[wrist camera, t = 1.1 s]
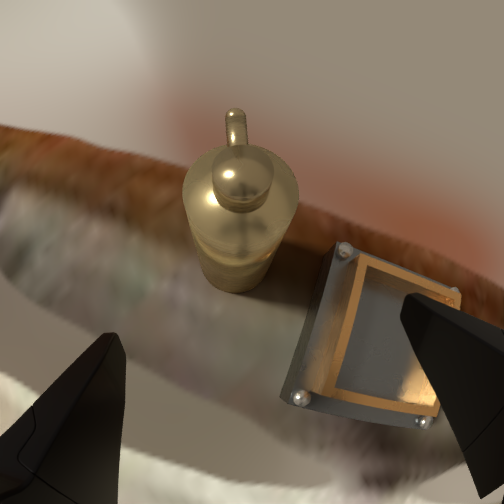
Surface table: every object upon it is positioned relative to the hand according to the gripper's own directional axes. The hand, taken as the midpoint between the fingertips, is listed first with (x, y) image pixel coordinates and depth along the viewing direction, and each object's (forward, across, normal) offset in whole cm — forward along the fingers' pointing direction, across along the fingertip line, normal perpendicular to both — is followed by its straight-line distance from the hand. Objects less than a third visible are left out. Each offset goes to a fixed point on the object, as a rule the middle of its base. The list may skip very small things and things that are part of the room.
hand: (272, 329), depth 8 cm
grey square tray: (+8, -9, +10) cm, 16 cm away
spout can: (+13, 0, +5) cm, 14 cm away
